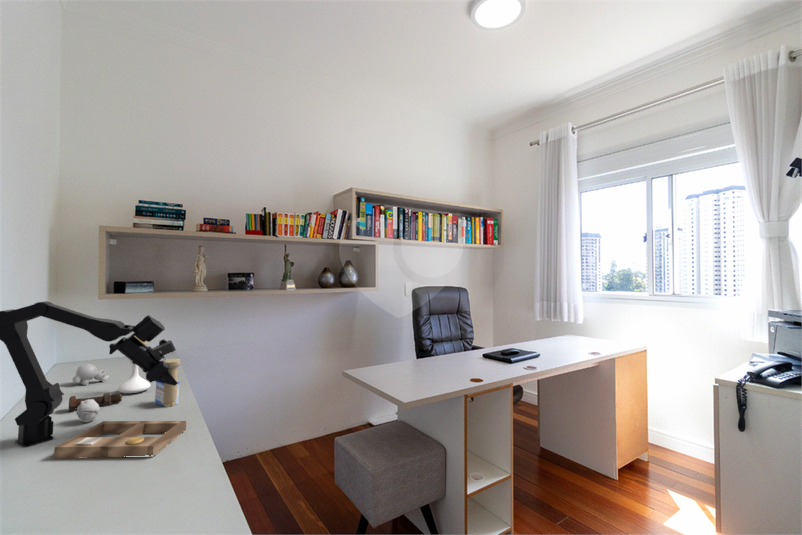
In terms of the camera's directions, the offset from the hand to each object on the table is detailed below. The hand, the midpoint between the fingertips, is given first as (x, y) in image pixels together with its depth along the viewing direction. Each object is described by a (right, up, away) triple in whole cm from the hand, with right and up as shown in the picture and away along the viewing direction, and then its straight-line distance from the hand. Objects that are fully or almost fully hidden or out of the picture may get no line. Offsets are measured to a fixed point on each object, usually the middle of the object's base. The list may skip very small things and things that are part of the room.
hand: (175, 382), depth 125 cm
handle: (-1, -8, -1) cm, 8 cm away
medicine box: (-14, -14, +17) cm, 26 cm away
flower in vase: (-35, -14, +31) cm, 49 cm away
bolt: (-37, -13, +12) cm, 41 cm away
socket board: (-5, -13, -16) cm, 21 cm away
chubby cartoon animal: (-62, -13, +41) cm, 76 cm away
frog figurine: (-28, -13, -1) cm, 31 cm away
